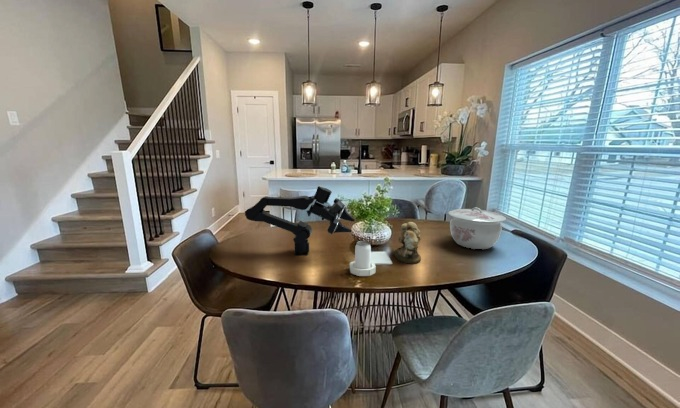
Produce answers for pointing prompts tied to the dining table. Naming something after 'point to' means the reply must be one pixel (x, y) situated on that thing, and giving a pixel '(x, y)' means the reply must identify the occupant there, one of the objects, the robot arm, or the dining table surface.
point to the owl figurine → (408, 244)
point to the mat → (380, 258)
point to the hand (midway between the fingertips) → (352, 225)
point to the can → (362, 255)
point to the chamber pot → (475, 227)
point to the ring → (362, 270)
